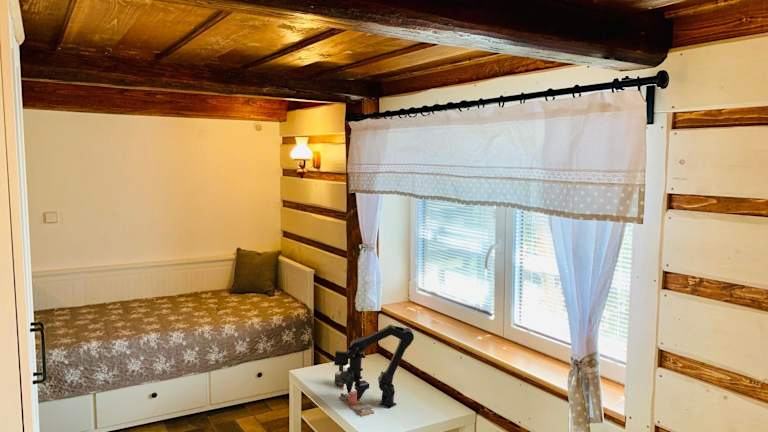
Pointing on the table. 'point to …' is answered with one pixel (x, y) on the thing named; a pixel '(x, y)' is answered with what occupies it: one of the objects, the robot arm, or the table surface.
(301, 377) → the table surface
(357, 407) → the plank
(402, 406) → the table surface
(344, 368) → the cream yellow box
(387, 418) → the table surface
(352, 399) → the tab
